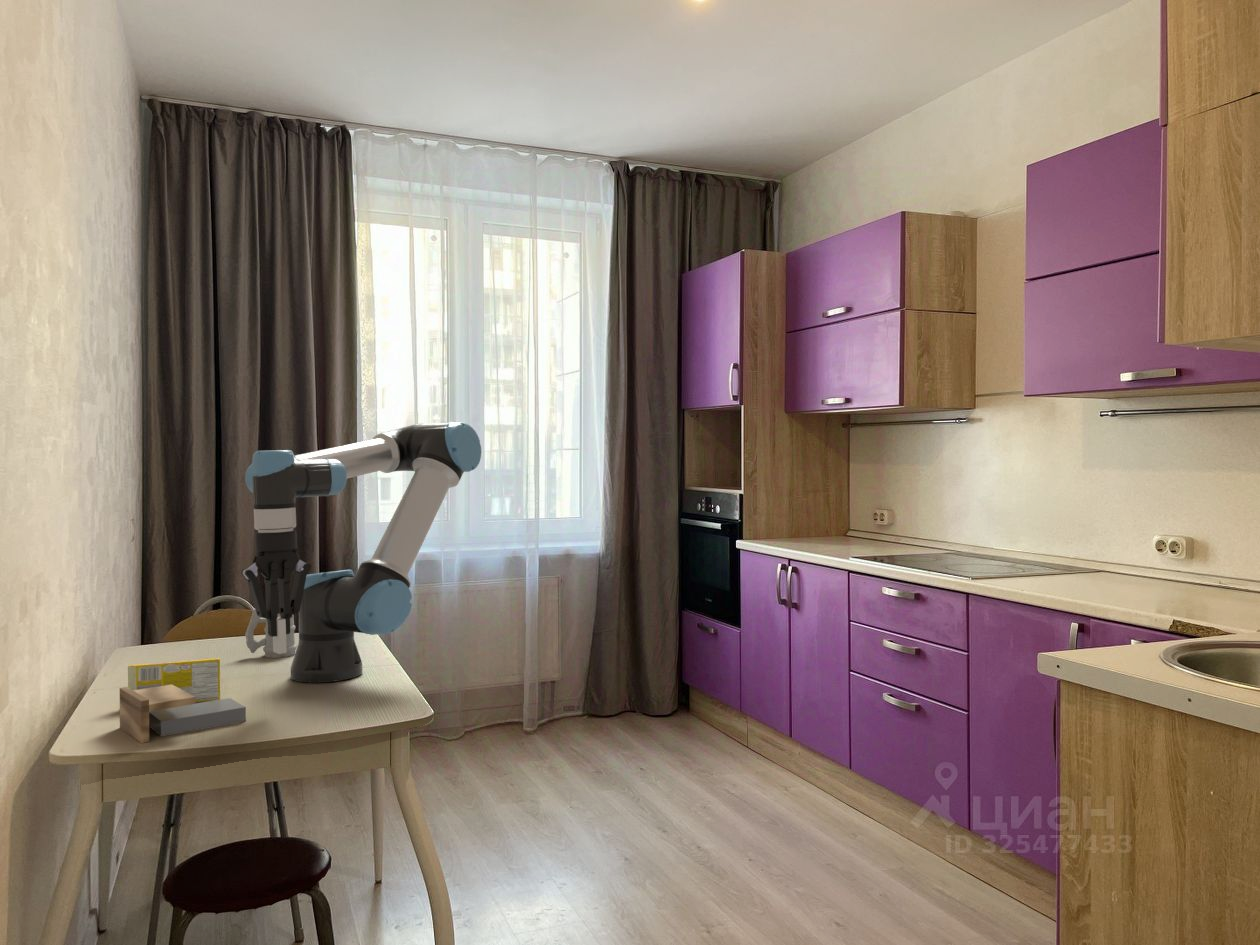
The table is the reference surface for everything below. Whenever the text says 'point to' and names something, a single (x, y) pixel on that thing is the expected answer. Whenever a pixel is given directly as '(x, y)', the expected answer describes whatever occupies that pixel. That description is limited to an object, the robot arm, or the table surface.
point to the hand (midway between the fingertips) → (279, 652)
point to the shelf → (148, 707)
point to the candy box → (179, 677)
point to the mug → (269, 638)
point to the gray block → (196, 716)
